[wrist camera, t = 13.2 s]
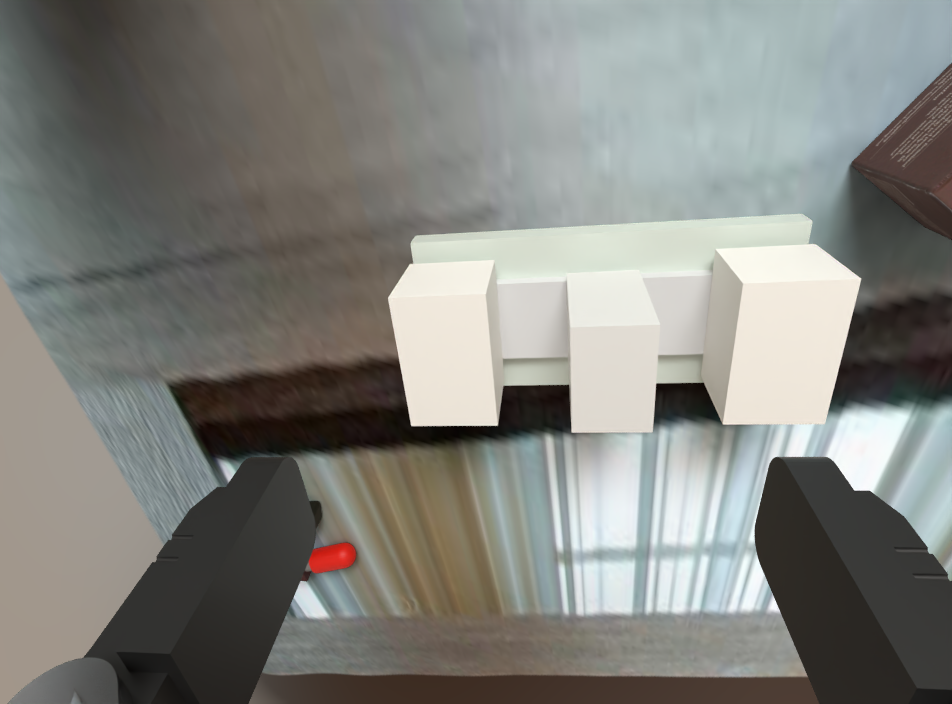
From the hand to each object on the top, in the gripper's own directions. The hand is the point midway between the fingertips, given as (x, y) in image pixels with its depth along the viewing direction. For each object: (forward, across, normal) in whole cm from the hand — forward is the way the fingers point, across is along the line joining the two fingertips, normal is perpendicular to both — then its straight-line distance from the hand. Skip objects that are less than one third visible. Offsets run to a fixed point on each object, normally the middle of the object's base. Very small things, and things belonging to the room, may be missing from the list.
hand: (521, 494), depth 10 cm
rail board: (+25, -4, +8) cm, 27 cm away
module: (+23, -4, +8) cm, 24 cm away
